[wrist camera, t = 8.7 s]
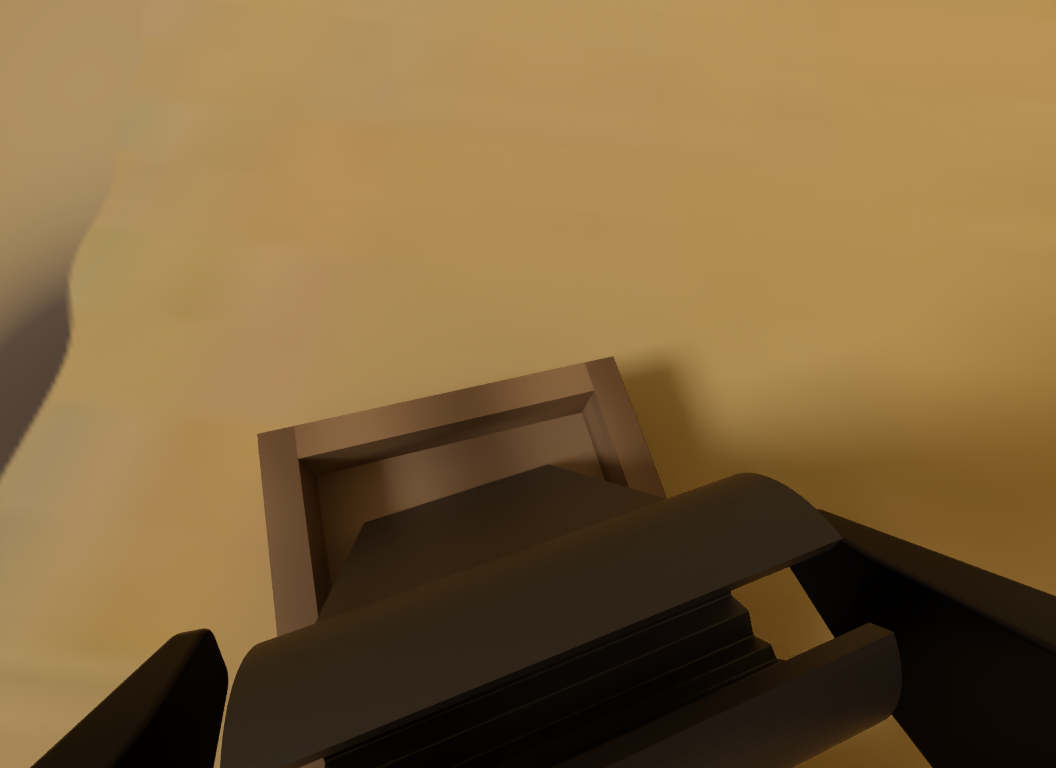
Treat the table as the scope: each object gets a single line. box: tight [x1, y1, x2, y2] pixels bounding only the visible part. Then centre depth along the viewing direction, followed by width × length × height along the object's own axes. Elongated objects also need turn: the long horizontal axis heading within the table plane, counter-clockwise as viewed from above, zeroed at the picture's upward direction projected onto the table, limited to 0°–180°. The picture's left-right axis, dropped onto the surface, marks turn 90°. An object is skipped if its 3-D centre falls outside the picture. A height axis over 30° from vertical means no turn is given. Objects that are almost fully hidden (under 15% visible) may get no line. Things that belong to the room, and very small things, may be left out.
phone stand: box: [220, 464, 902, 768], centre depth 10 cm, size 9×6×12 cm, turn 19°
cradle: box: [257, 357, 667, 768], centre depth 13 cm, size 11×16×8 cm
